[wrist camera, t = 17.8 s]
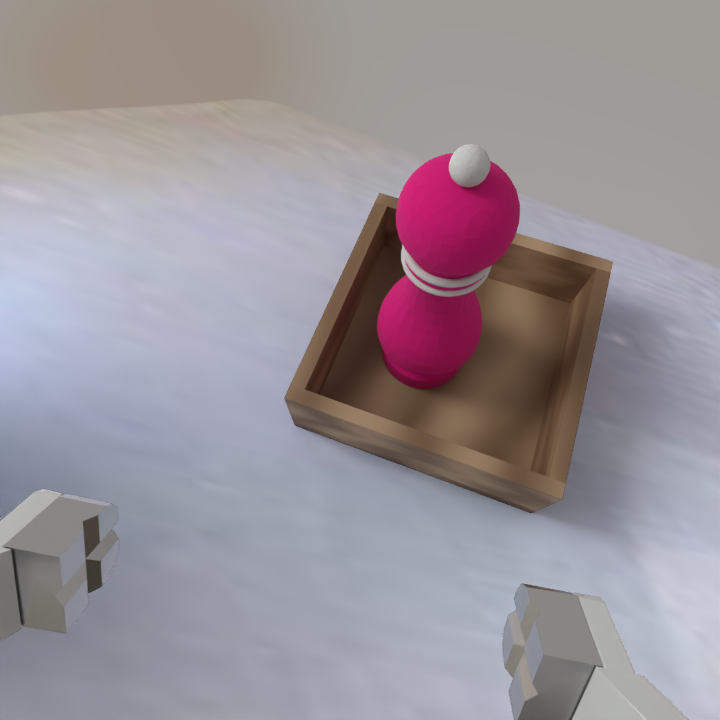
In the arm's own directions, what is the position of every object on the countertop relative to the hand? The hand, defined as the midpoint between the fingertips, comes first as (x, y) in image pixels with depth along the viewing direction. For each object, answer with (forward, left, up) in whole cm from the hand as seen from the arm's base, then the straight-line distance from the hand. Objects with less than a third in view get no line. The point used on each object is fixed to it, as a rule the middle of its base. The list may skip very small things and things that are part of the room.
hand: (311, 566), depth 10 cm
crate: (+2, +18, -26) cm, 32 cm away
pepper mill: (0, +17, -25) cm, 31 cm away
